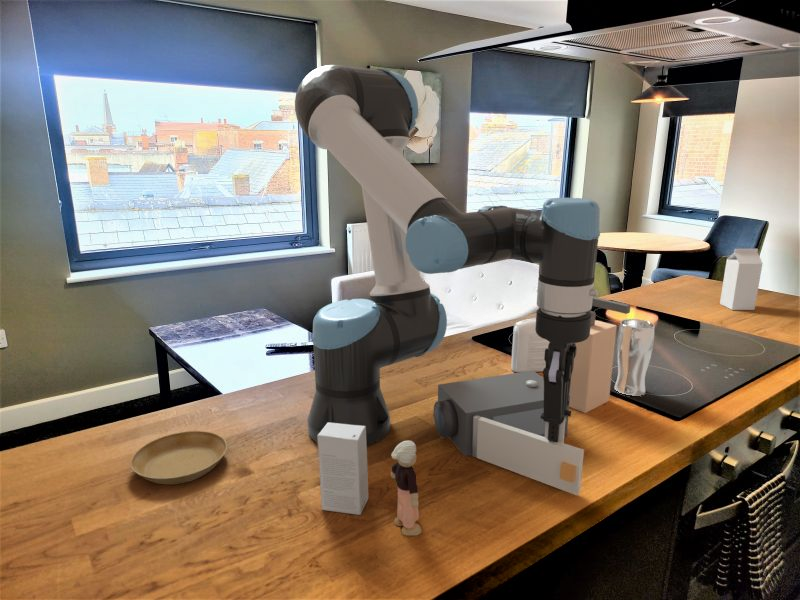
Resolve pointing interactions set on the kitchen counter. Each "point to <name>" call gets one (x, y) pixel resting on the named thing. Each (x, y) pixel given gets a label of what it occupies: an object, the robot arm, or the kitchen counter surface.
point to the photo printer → (528, 347)
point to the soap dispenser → (595, 361)
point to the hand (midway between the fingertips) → (552, 455)
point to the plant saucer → (179, 457)
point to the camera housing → (490, 406)
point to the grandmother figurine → (406, 488)
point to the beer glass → (633, 355)
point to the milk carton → (741, 280)
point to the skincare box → (343, 468)
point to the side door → (528, 454)
